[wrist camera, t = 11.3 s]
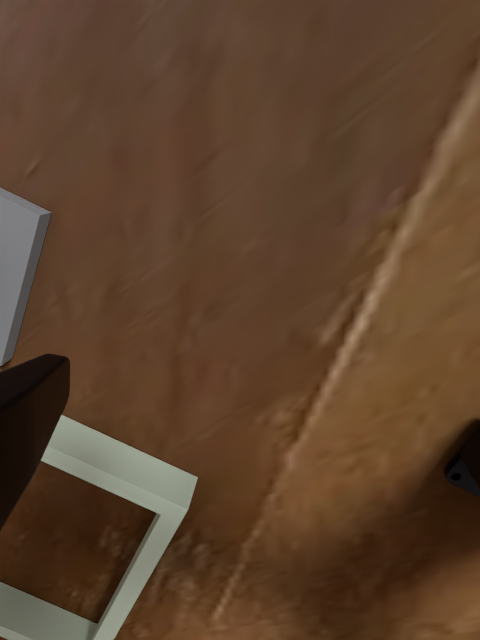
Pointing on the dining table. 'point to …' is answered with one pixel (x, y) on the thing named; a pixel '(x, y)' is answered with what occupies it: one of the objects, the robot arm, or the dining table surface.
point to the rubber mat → (17, 263)
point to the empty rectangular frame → (125, 481)
